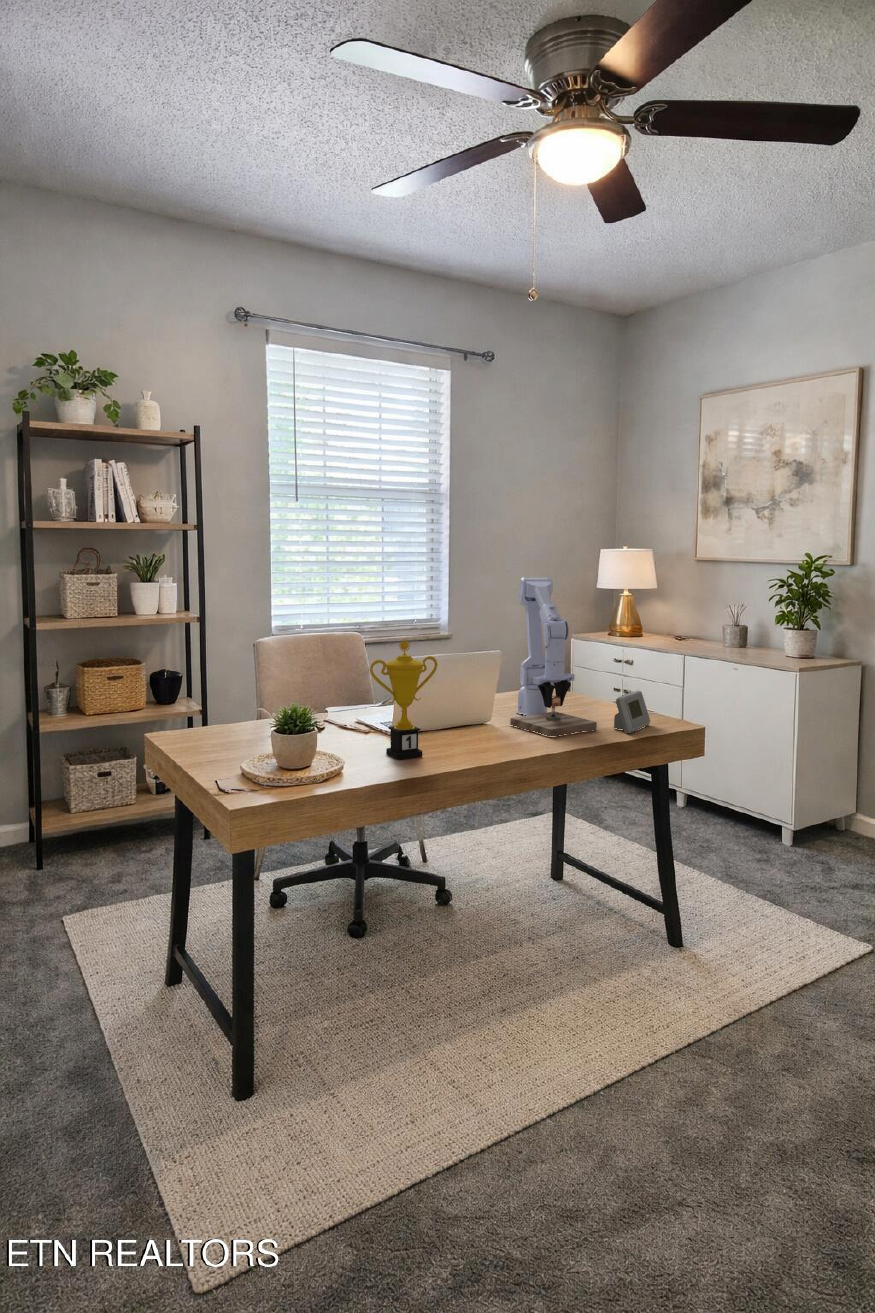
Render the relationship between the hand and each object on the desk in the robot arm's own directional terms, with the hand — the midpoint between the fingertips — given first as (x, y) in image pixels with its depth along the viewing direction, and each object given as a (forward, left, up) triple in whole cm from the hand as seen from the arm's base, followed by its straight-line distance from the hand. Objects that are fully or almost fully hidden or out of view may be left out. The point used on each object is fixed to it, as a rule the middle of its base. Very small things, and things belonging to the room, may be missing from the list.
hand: (553, 706), depth 239 cm
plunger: (0, 0, -3) cm, 3 cm away
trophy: (+3, -54, -7) cm, 55 cm away
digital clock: (+13, +20, -7) cm, 25 cm away
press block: (0, 0, -7) cm, 7 cm away
